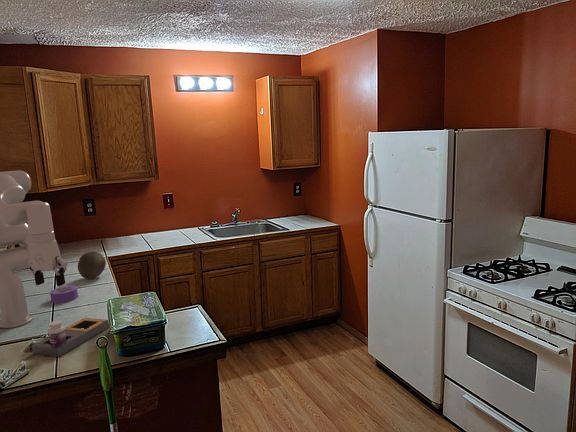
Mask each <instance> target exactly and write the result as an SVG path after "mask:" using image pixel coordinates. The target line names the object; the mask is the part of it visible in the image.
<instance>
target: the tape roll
mask: <svg viewBox="0 0 576 432" xmlns="http://www.w3.org/2000/svg"><path fill="white" fill-rule="evenodd" d="M49 294H50V299H51V303H52V304H64V303H69V302H72V301H75V300H76V298H77V299H78V297H79V293H78V287H77V286H76V285H62V286H58V287H55V288H53V289H51V290H50V291H49Z"/></svg>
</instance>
